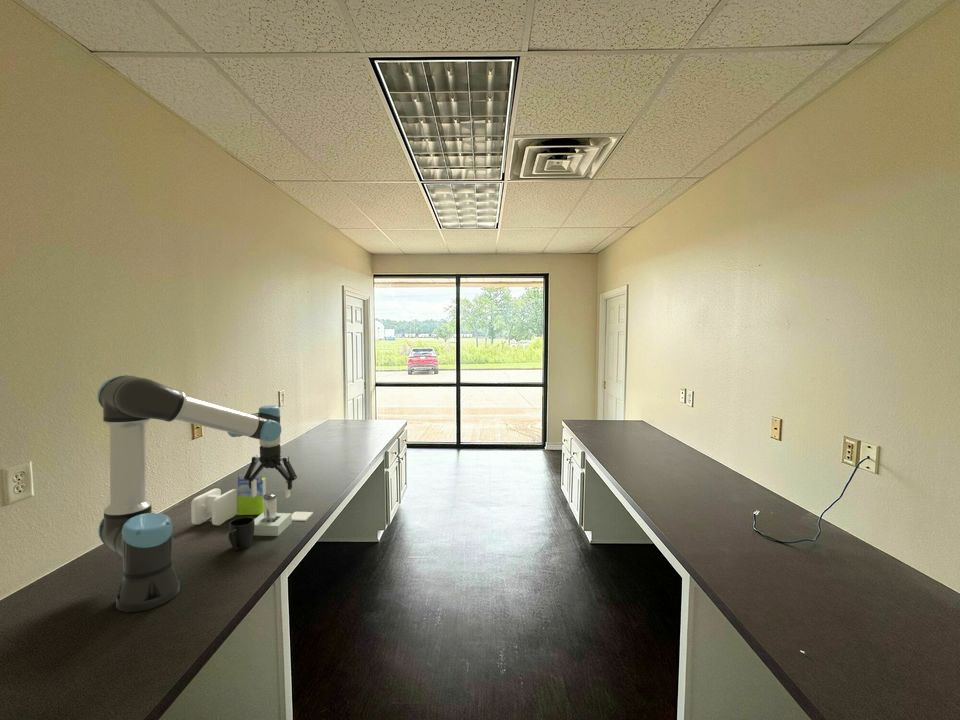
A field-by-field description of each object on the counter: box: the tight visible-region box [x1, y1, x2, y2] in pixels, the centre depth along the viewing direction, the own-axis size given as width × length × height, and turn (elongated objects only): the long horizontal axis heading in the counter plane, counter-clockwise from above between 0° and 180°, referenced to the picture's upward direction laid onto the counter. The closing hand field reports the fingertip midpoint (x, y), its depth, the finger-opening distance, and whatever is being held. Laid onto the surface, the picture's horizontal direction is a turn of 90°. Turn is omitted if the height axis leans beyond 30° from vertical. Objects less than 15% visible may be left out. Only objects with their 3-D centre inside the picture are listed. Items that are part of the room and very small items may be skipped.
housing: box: [253, 512, 293, 537], centre depth 178 cm, size 12×12×4 cm
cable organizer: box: [190, 488, 238, 526], centre depth 184 cm, size 15×11×12 cm
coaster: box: [292, 511, 314, 522], centre depth 190 cm, size 8×8×1 cm
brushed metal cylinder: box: [263, 492, 278, 522], centre depth 177 cm, size 5×5×14 cm
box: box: [237, 475, 267, 516], centre depth 192 cm, size 10×4×17 cm, turn 97°
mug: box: [228, 516, 255, 551], centre depth 161 cm, size 8×12×10 cm
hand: (270, 496), depth 177 cm, fingers open, 13 cm apart
